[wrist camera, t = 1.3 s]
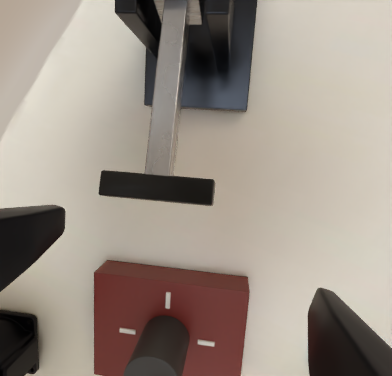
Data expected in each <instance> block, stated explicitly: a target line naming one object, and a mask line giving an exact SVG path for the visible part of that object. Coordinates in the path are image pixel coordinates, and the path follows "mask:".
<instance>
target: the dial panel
mask: <svg viewBox="0 0 392 376" xmlns="http://www.w3.org/2000/svg"><path fill="white" fill-rule="evenodd" d="M249 293H250V292H249V284H248V277H242V276H233V275H225V274H217V273H209V272H201V271H192V270H184V269H176V268H168V267H160V266H151V265H143V264H135V263H127V262H119V261H110V260H107V261H106V262H105V263H104V264H103V265H102V266H101V267H99V268H98V269H97V270H96V271H95V272H94V374H96V375H102V376H123V375H124V370H125V368H126V366H127V364H128V362H129V359H130V357H131V355H132V353H133V351H134V349H135V347H136V345H137V342H138V340H139V338H140V336H141V334H142V332H143V330H144V327H145V325H146V324H147V323H148V321H150V320H151V319H152V318H154V317H157V316H171V317H174V318H176V319H178V320H179V321H180V322H182V323H183V324H184V326H185V327H186V329H187V331H188V333H189V346H188V351H187V355H186V360H185V365H184V370H183V374H182V376H241V367H242V357H243V348H244V339H245V330H246V320H247V311H248V302H249Z"/></svg>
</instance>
